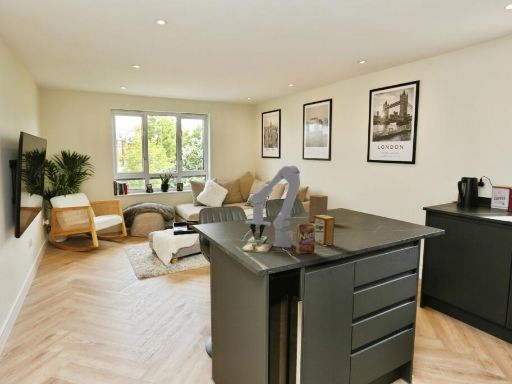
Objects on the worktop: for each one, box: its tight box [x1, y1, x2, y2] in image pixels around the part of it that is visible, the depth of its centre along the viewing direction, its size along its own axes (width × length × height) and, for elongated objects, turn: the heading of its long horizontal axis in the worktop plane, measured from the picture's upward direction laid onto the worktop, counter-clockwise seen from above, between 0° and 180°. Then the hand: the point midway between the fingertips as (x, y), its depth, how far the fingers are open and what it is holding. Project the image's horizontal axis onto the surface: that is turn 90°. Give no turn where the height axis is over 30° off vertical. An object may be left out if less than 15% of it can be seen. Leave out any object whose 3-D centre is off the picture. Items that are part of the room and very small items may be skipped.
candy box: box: [295, 222, 316, 255], centre depth 166 cm, size 9×4×15 cm, turn 93°
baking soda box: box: [314, 214, 335, 246], centre depth 185 cm, size 10×6×16 cm
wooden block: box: [308, 194, 329, 223], centre depth 244 cm, size 10×10×20 cm
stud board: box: [240, 240, 273, 254], centre depth 173 cm, size 13×13×3 cm
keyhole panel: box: [246, 231, 268, 244], centre depth 189 cm, size 8×13×5 cm, turn 166°
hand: (257, 237), depth 189 cm, fingers closed on keyhole panel, 3 cm apart
